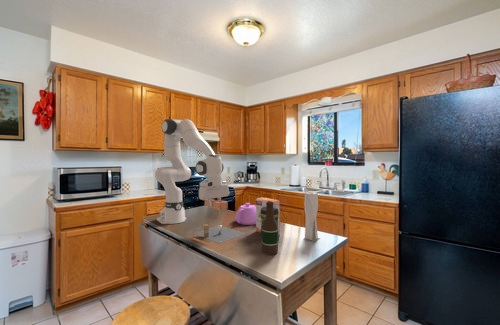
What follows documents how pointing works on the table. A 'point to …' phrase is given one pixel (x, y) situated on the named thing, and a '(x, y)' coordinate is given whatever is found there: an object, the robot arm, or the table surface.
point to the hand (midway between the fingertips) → (214, 205)
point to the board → (225, 235)
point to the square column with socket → (217, 204)
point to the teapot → (246, 214)
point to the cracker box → (262, 203)
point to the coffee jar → (263, 217)
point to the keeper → (206, 230)
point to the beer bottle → (270, 231)
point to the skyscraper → (311, 215)
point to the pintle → (219, 229)
